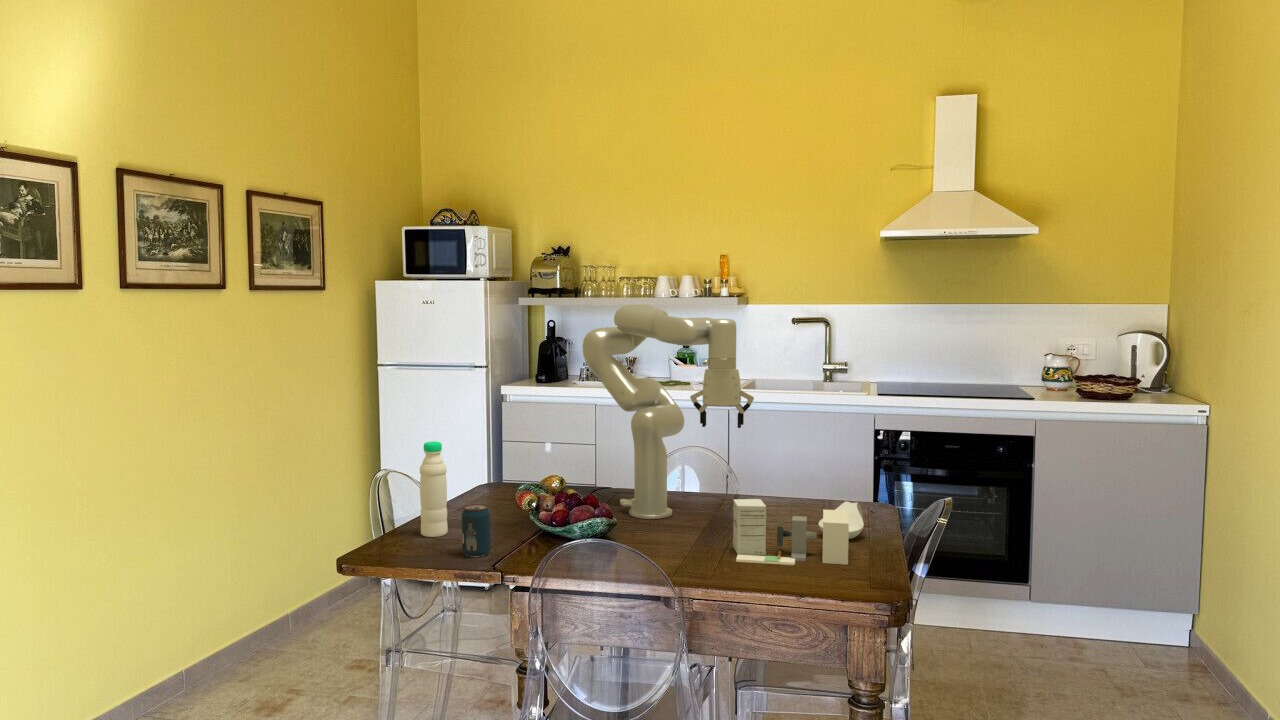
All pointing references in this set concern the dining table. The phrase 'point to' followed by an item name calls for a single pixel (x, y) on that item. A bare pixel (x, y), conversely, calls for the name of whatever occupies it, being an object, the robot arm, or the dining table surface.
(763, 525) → the supplement box
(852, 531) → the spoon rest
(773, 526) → the dining table surface
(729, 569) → the dining table surface
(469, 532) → the soda can
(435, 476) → the cream plastic bottle
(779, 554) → the plunger
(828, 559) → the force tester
